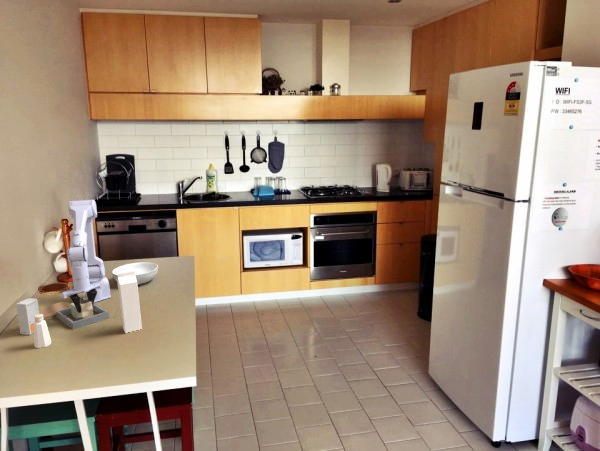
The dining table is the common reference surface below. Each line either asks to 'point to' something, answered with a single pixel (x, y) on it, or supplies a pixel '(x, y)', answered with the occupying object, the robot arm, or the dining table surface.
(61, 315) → the bin
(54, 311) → the walnut board
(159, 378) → the dining table surface
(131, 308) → the milk
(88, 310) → the birch block
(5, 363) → the dining table surface
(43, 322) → the pepper shaker
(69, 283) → the apple
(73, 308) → the sage block
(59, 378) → the dining table surface
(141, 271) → the serving bowl
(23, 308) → the skincare box
